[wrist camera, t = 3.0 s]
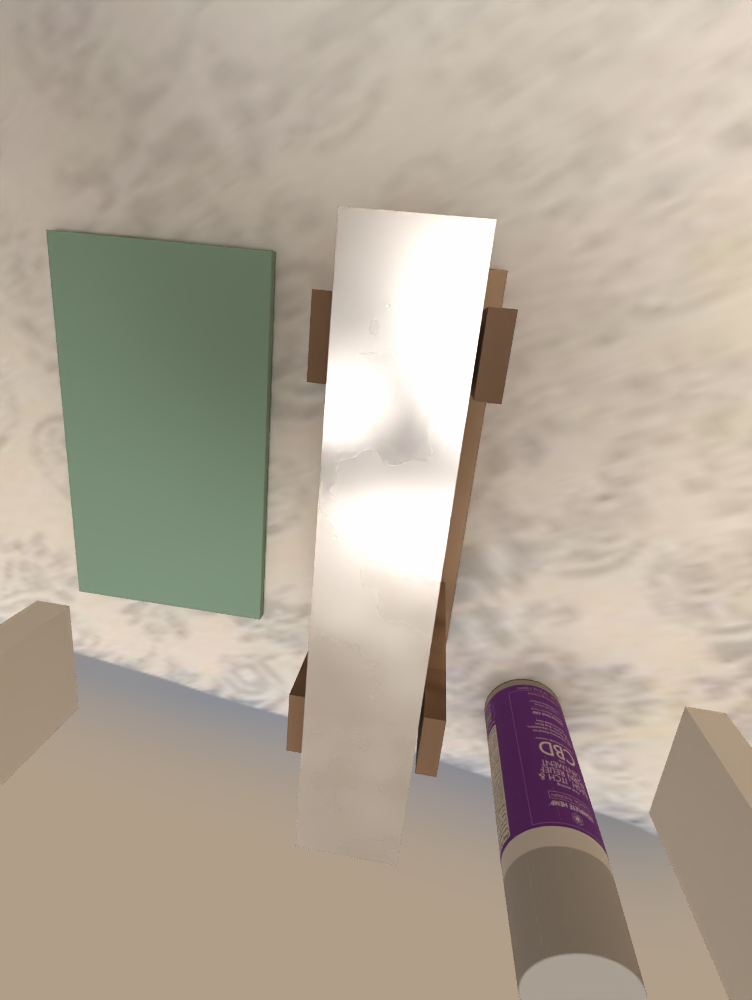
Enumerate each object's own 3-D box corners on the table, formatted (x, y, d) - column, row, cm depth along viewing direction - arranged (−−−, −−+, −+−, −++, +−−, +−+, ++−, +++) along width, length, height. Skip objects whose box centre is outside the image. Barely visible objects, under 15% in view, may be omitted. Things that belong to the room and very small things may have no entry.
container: (561, 679, 32) (657, 957, 18) (559, 742, 33) (645, 1046, 19) (483, 678, 32) (515, 946, 18) (484, 739, 34) (514, 1032, 20)
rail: (327, 733, 23) (295, 845, 18) (369, 244, 17) (338, 206, 12) (407, 747, 23) (396, 865, 18) (480, 254, 17) (496, 219, 12)
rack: (332, 625, 33) (269, 791, 21) (362, 260, 26) (295, 200, 14) (444, 642, 32) (444, 823, 20) (504, 274, 25) (556, 222, 14)
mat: (85, 586, 34) (79, 591, 33) (54, 232, 27) (46, 229, 27) (263, 614, 33) (259, 619, 32) (275, 252, 26) (271, 250, 26)
